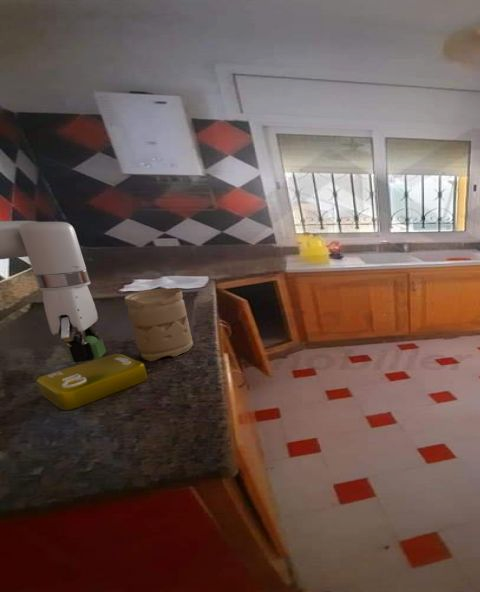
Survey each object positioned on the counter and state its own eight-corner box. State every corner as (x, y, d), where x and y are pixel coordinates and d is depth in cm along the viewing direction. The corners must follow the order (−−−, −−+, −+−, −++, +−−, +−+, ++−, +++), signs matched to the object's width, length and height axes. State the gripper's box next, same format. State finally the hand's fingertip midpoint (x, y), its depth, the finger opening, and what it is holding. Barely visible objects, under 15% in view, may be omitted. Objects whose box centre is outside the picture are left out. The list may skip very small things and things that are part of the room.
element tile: (151, 379, 79) (146, 362, 77) (65, 413, 66) (58, 393, 64) (122, 366, 85) (118, 350, 84) (39, 395, 72) (32, 376, 71)
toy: (71, 362, 71) (64, 342, 69) (78, 355, 74) (72, 336, 73) (100, 357, 73) (94, 337, 71) (106, 351, 76) (100, 332, 75)
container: (198, 350, 95) (186, 293, 90) (144, 365, 86) (127, 302, 81) (187, 339, 103) (175, 286, 98) (136, 352, 94) (120, 294, 89)
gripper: (58, 275, 74) (81, 347, 79) (15, 290, 60) (47, 376, 65) (101, 271, 77) (121, 340, 82) (71, 285, 63) (97, 367, 68)
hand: (88, 355), depth 73 cm, fingers closed on toy, 4 cm apart
